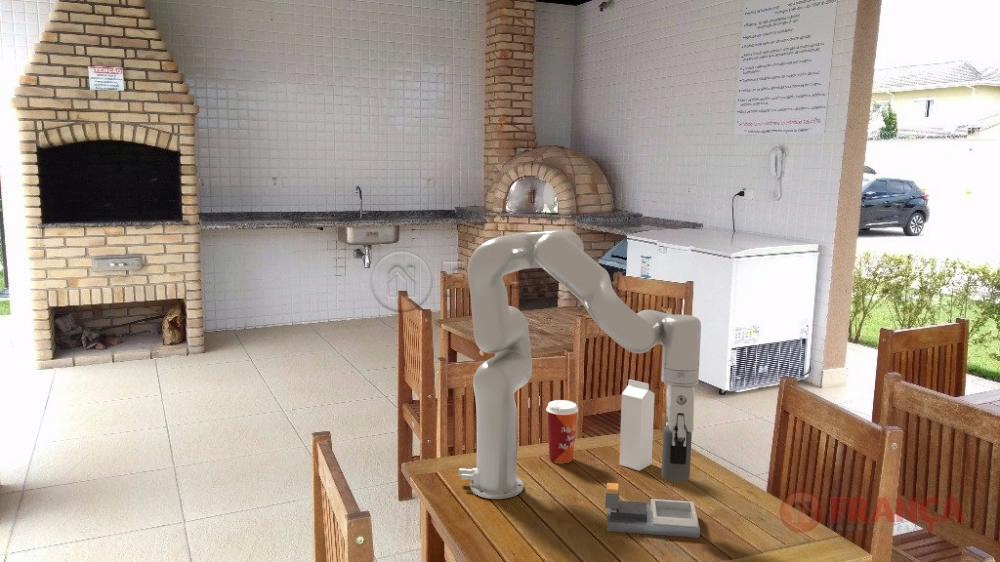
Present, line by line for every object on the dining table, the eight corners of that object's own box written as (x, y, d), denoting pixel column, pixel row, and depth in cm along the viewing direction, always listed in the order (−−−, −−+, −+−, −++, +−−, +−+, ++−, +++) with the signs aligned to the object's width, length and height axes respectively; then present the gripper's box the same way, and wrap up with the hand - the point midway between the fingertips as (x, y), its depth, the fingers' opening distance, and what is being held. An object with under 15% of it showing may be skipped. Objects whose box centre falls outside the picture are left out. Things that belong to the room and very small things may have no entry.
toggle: (605, 507, 164) (606, 489, 164) (605, 500, 168) (606, 482, 167) (618, 508, 164) (619, 490, 163) (618, 501, 167) (619, 483, 167)
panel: (606, 530, 162) (607, 515, 161) (607, 509, 171) (607, 494, 171) (699, 537, 159) (700, 522, 158) (694, 515, 169) (695, 500, 168)
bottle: (690, 483, 160) (693, 414, 157) (661, 481, 161) (664, 412, 158) (689, 472, 165) (692, 405, 163) (661, 470, 166) (664, 403, 164)
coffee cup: (568, 468, 194) (569, 411, 191) (539, 461, 198) (540, 405, 196) (582, 457, 201) (584, 402, 198) (554, 451, 205) (555, 397, 203)
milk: (639, 471, 193) (642, 386, 189) (618, 464, 197) (621, 381, 193) (652, 464, 197) (655, 381, 193) (631, 457, 201) (634, 376, 197)
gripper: (703, 387, 150) (699, 475, 153) (694, 364, 167) (690, 443, 170) (664, 385, 151) (660, 472, 154) (659, 363, 168) (656, 441, 171)
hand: (676, 456), depth 162 cm, fingers closed on bottle, 5 cm apart
